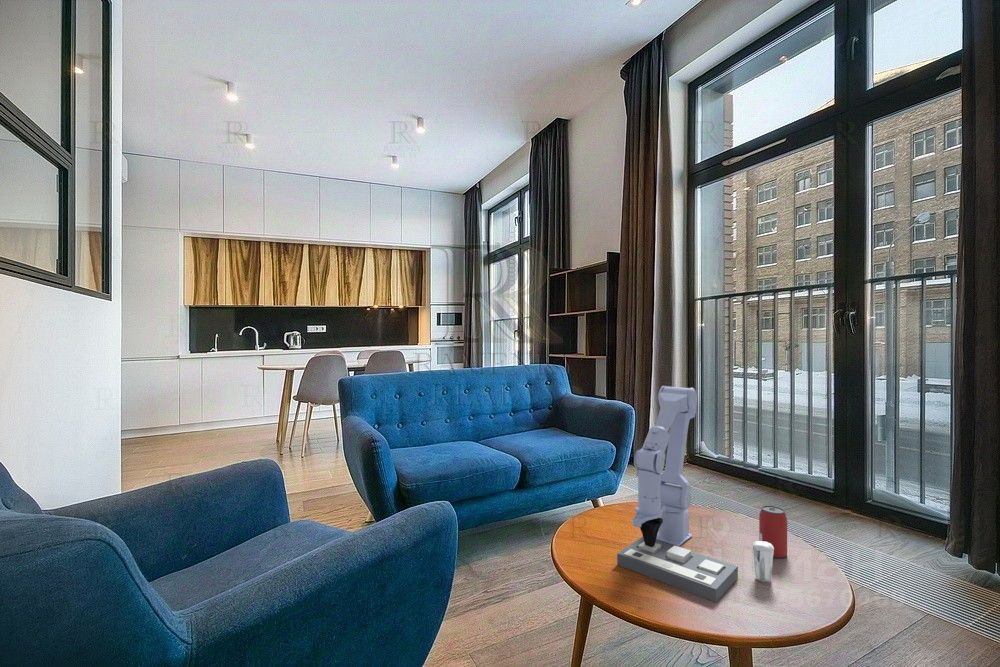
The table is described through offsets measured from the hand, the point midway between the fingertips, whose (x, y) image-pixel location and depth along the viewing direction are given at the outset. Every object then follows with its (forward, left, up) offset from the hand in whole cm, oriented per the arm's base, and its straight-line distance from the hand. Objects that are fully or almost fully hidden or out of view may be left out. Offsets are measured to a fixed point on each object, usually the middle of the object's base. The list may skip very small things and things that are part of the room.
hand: (649, 545), depth 129 cm
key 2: (0, +16, -3) cm, 16 cm away
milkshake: (-9, +25, -4) cm, 27 cm away
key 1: (0, 0, -3) cm, 3 cm away
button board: (+2, +8, -3) cm, 9 cm away
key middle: (0, +8, -2) cm, 8 cm away
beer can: (-25, +23, -4) cm, 34 cm away
